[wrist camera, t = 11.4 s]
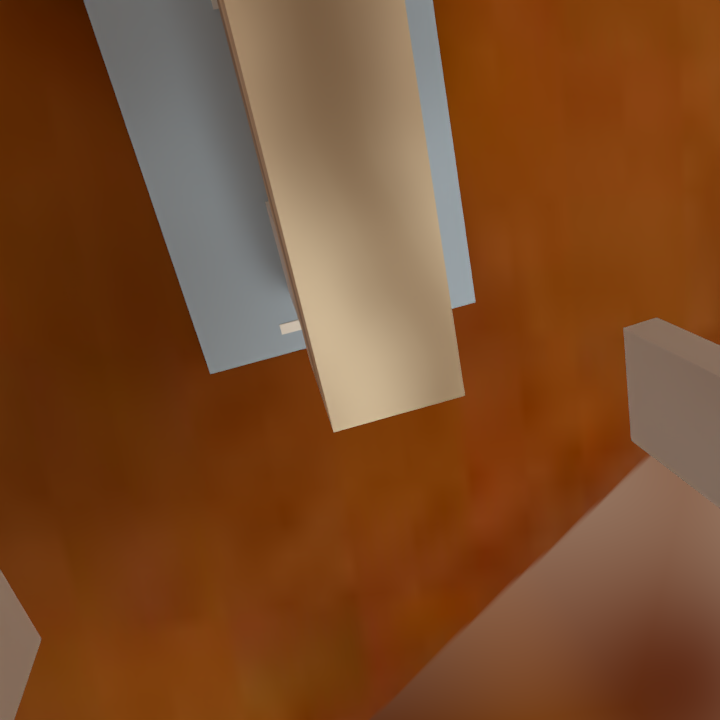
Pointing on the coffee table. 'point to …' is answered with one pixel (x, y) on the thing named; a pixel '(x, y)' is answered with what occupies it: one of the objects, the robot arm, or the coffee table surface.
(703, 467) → the robot arm
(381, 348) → the maple beam
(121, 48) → the blueprint board
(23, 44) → the coffee table surface
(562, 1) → the coffee table surface
